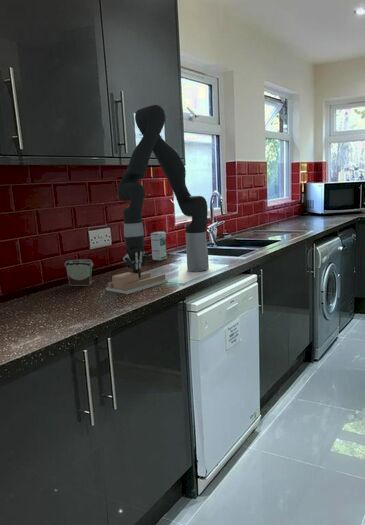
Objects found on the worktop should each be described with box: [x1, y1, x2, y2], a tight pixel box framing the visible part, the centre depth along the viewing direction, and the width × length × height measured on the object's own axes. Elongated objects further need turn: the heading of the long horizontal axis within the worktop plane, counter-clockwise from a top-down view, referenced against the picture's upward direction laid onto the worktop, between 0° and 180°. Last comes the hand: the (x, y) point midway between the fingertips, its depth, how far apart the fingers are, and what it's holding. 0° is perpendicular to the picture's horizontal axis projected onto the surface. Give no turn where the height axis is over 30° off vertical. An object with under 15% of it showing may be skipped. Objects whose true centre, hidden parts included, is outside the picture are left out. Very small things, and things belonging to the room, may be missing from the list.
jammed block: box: [111, 271, 139, 289], centre depth 167 cm, size 8×6×4 cm
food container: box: [64, 258, 94, 287], centre depth 181 cm, size 12×6×10 cm, turn 74°
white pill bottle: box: [150, 231, 168, 261], centre depth 230 cm, size 6×6×14 cm
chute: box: [105, 271, 169, 295], centre depth 172 cm, size 22×12×3 cm, turn 140°
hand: (137, 278), depth 172 cm, fingers closed
